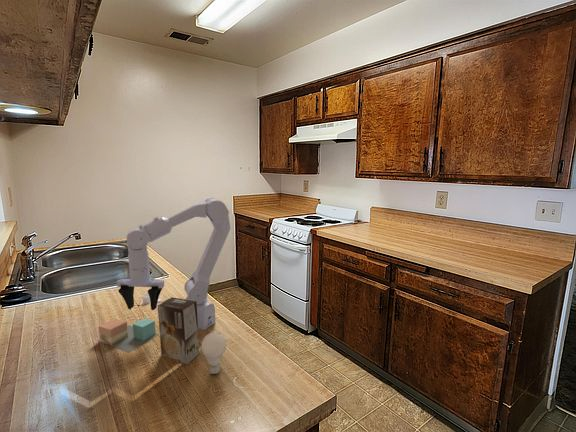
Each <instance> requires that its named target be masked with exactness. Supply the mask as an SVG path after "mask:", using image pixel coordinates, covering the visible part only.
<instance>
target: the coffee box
mask: <svg viewBox="0 0 576 432" xmlns="http://www.w3.org/2000/svg"><path fill="white" fill-rule="evenodd" d="M161 302H162V303H161ZM161 302H160V304H159V303H158V304H157V316H158V318H157V319H158V329H159V339H160V340H159V341H160V352H161V354H160V356H163V357H166V358H170V359H173V360H178V361H179V362H178V363H179V364H184V365H188V364H189V363H190V362H192V361H193V360H194V359H195V358H196V357H197V356H199V354H200V353H201V352H200V341H199V340H200V338H199V329H198V319H197V301H192V300H186V298H177V297H173V296H172V297H170V298H168V299H165V300H164V301H161Z"/></svg>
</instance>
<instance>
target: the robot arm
mask: <svg viewBox="0 0 576 432" xmlns="http://www.w3.org/2000/svg"><path fill="white" fill-rule="evenodd" d="M229 215H230V210H229V209H228V208H227V205H226V204H225V203H224V202H223V201H222V200H219V199H217V198H212V197H211V198H207V199H205V200H201V201H199V202H196V203H194V204H192V205H190V206H188V207H186V208H185V209H183V210H180V211H178V212H177V213H175V214H172V215H171V216H169V217H165V216H160V217H158V216H155V217H153V220H151V221H149V222H148V223H144V224H140V225H138V228H137V227H136V228H133V229H131V230H129V232H128V233H127V235H126V244H127V245H128V247H127V251H128V254H127V257H128V259H127V260H128V270H129V272H128V273H129V278H120V279H118V280H116V287H117V288H119V289H118V293H119V295H120V296H121V297H122V299H123V300H124V301H125V304H126V307H127V309H128V310H131V309H133V308H134V307H135V298H134V294H135V293H134V291H135V288H149V289H148V290H147V294H149V297H150V310H151V311H155V310H156V309H158V303H157V302H158V298H160V295H161V292H162V290H163V289H164V287H165V280H164V279H157V278H153V277H151V271H150V259H149V258H150V256H149V251H148V243H152V242H154V241H156V240H158V239H160V238H162V237H164V236H166V235H169V234H170V233H171V232H172V229H173V227H176V226H179V225H181V224H183V223H185V222H187V221H190V220H192V219H194V218H203V219H204V218H205V219H206V218H207V217H208V219H209V221H210V222H211V224H212V227H213V230H212V232H211V234H210V237H209V239H208V242H207V244H206V246H205V249H204V251H203V253H202V256H201V257H200V260H199V263H198V265H197V267H196V269H195V271H194V272H192V275H191V276H190V278H189V279H188V280H186V282H185V283H184V291H185V293H186V295H187V296H186V298H185V299H186V300H192V301H197V319H198V330H202V331H205V330H206V329H208V328H209V327H211V326H212V325H214V324H215V323H216V307H215V304H213V302H210V301H209V300H208V296H209V295H208V290H209V286H210V278H211V275H212V273H213V270H214V268H215V266H216V264H217V261H218V258H219V256H220V254H221V252H222V249H223V247H224V245H225V243H226V240H227V238H228V235H229V232H230V231H231V223H230V218H229V217H230V216H229Z"/></svg>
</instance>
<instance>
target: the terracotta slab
mask: <svg viewBox="0 0 576 432" xmlns="http://www.w3.org/2000/svg"><path fill="white" fill-rule="evenodd" d="M127 322H128V321H124V320H122V319H118V318H112V319H111V320H108V321H107V322H104V323H102V324H100V325H98V334H102V335H105V336H107V337H110V338H112V337H114V336H116V335H117V334H119V333H121V332H123V331H125V330H127V326H128V323H127Z"/></svg>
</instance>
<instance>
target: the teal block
mask: <svg viewBox="0 0 576 432" xmlns="http://www.w3.org/2000/svg"><path fill="white" fill-rule="evenodd" d="M155 322H156V321H155V320H153V319H149V318H146V317H145V318H141V319H140V320H138V321H136V322H134V323H133V324H132V326H133V334H134V338H137V339H140V340H143V341H145V340H146V339H148V338H150V337H152V336H153V335H155V334H157V332H156V323H155Z"/></svg>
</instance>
